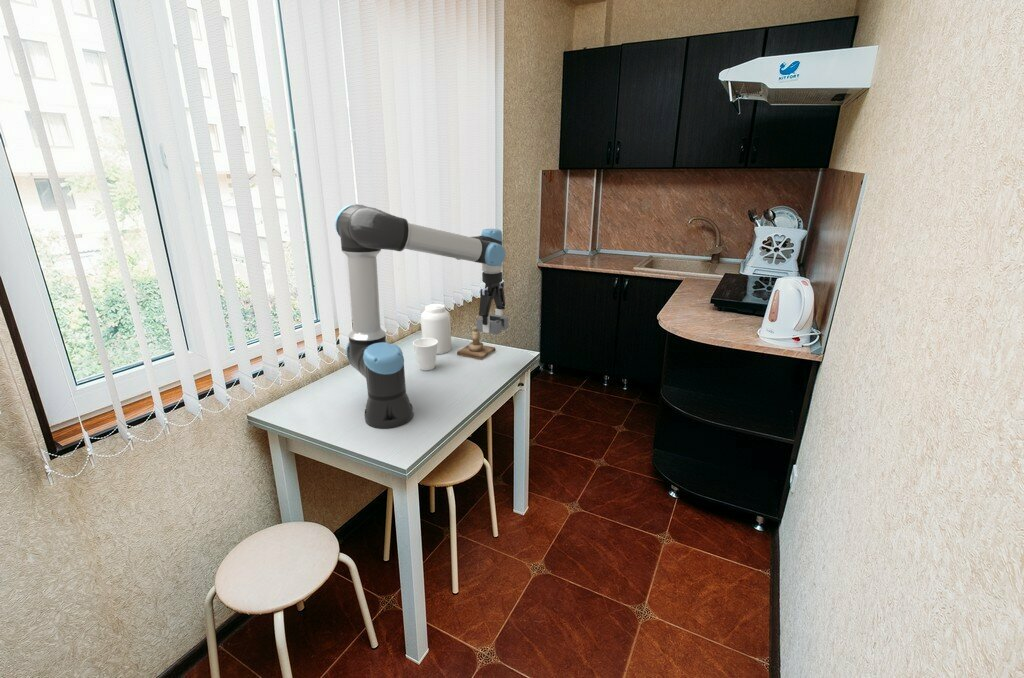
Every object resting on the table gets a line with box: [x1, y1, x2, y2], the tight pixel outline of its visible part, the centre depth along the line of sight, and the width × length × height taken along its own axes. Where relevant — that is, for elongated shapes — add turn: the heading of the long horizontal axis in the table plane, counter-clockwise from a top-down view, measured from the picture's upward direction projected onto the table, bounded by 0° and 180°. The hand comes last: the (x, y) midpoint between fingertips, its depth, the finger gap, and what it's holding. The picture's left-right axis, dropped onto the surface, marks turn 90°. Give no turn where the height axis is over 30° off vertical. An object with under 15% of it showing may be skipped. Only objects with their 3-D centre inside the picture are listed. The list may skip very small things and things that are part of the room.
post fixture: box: [456, 325, 496, 361], centre depth 202 cm, size 12×12×12 cm
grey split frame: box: [476, 313, 509, 335], centre depth 184 cm, size 9×9×4 cm
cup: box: [412, 337, 438, 371], centre depth 187 cm, size 10×10×11 cm
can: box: [420, 303, 452, 355], centre depth 204 cm, size 12×12×20 cm
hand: (492, 328), depth 184 cm, fingers closed on grey split frame, 9 cm apart
